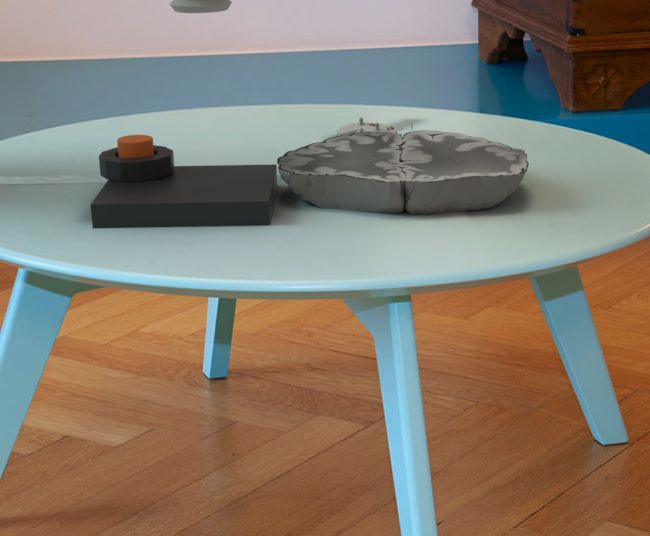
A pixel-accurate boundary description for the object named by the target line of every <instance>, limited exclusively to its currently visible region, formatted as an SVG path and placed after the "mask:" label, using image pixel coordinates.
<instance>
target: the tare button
mask: <svg viewBox="0 0 650 536" xmlns="http://www.w3.org/2000/svg"><path fill="white" fill-rule="evenodd" d="M116 144H117V147H118V156H119V157H120V158H143V157H150V156H153V155H154V146H153V145H154V138H153V136H151V135H149V134H129V135H124V136H121V137H118V138H117V140H116Z"/></svg>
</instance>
